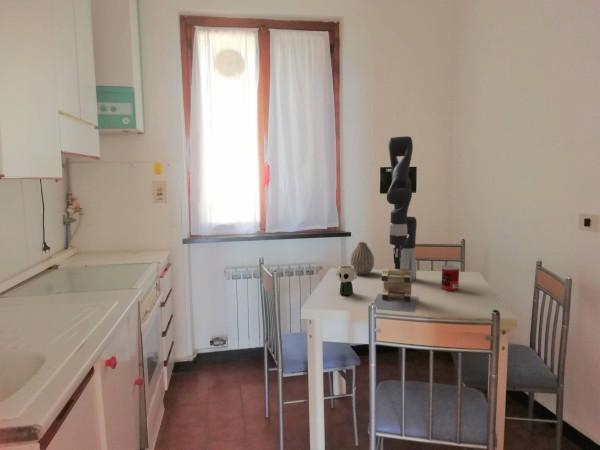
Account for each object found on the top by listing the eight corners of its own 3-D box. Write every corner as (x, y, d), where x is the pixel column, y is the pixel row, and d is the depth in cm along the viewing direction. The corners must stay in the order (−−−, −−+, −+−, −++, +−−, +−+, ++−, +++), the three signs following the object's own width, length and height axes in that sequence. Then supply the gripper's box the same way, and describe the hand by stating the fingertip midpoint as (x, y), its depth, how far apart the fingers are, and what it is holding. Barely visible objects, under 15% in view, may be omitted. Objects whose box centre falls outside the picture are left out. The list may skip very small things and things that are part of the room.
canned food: (459, 288, 216) (459, 265, 214) (457, 292, 208) (458, 269, 207) (442, 286, 219) (443, 264, 217) (440, 290, 212) (441, 268, 210)
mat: (378, 294, 206) (378, 293, 206) (418, 297, 200) (418, 296, 200) (370, 309, 184) (370, 308, 184) (415, 313, 179) (415, 312, 179)
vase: (348, 271, 253) (348, 240, 251) (371, 270, 254) (371, 240, 252) (352, 276, 240) (352, 244, 238) (376, 276, 241) (377, 244, 239)
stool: (410, 301, 193) (410, 277, 188) (382, 299, 196) (381, 276, 192) (411, 293, 199) (411, 269, 194) (384, 291, 202) (383, 268, 198)
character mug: (332, 294, 208) (332, 266, 206) (340, 290, 213) (340, 264, 212) (352, 298, 201) (352, 269, 199) (360, 294, 206) (360, 267, 205)
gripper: (391, 231, 203) (390, 268, 205) (387, 235, 190) (387, 275, 193) (408, 231, 200) (407, 269, 203) (405, 236, 188) (404, 276, 190)
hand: (397, 272), depth 198 cm, fingers closed
